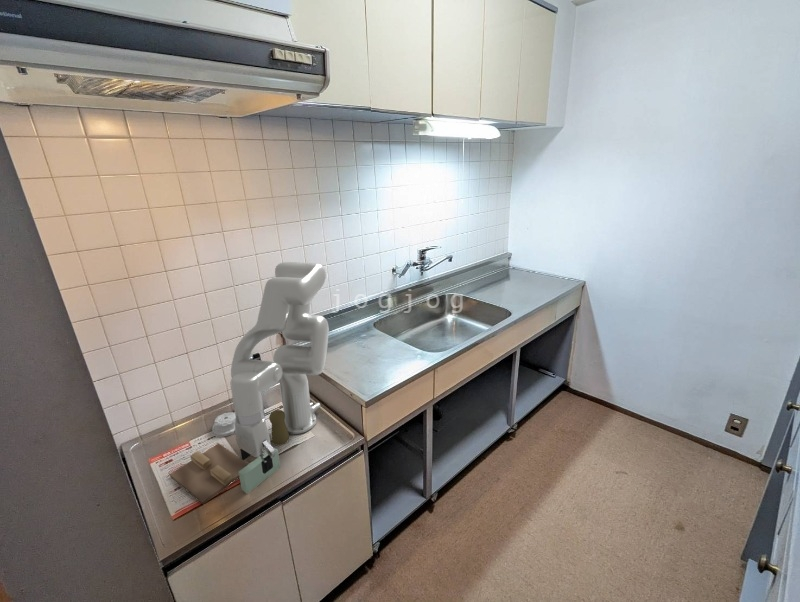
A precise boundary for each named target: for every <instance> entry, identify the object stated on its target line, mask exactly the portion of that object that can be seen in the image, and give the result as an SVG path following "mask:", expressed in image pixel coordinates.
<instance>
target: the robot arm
mask: <svg viewBox="0 0 800 602" xmlns="http://www.w3.org/2000/svg"><path fill="white" fill-rule="evenodd" d="M326 273H327V272H326V269H325V268H324V266H323V265H322V264H320V263H315V262H301V261H298V262H297V261H287V262H286V261H285V262H280V263H278V264H277V265H276V266H275V269H274V275H275V277H272V278H270V279H268V280H267V281H266V282H265V286H264V290H263V293H262V294H263V295H262V298H261V303H260V307H259V311H258V316H257V321H256V323H255V325H254V326H253V327H252V328H250V329H249V330H248V331H247V332H246V333H245V334H244V336H243V337H242V338H241V340H240V341H239V342H238V344H236V348H235V350H234V354H233V358H232V361H231V367H230V376H231V379H230V391H231V395H232V396H231V397H232V402H233V410H234V412H235V416H236V419H235V431H234V435H235V440H236V446H237V447H238V448H239V451H240V458H242V460H245V461H246V460H247V459H248V458H249V457H251V456H253V457H255V458H258V457H259V456H260V457H261V459H262V462H261V464H262V471H263V473H264V474H265V473H266V472H268V471H269V470H270V469H272V468H273V462H272V458H273V457H274V454H275V450H274V449H273V447H274V446H272V444H271V437H270V434H269V429H268V425H267V422H266V419H265V407H264V400H263V393H265V392H267V391H268V390H270V389H271V388H273V387H275V386H276V385H277V384H278V383H279V386H280V395H281V400H282V401H281V402H282V408H283V409H282V411H283V412H284V413H285V420H284V421H285V424H286V427H287V430H288V433H289V435H298V434H303V433H306V432H308V431H309V430H311V429H312V428H314V426H315V425H316V423H317V416H316V414H315V411H316V410H318V409H319V408H320V407H321V406H322V405H321V403H319V402H316V403H315V404H314V403H313V402H311V396H310V388H309V380H308V376H318V375H320V374H322V373H323V371H324V370H325V367H326V366H325V365H326V360H327V352H328V351H327V350H328V343H329V336H330V335H329V332H330V330H329V327H330V326H329V322H328V320H327V318H325V316H322V315H319V314H318V315H317V314H310V310H311V309H310V308H311V301H312V300H313V299H314V298H315V296H316V295H317V294H318V292H319V291H320V290H321V289H322V287H324V284H325V281H326V278H327V277H326V276H327V274H326ZM280 333H282V337H283V338H284V339H285V340H288V341H293V342H303V343H310V345H308V346H307V345H301V344H300V345H299V344H284V345H280V346H279V347H277V348H276V350H275V351H274V353H273V361H272V360H271V361H269V360H259V359H251V354H252V352H253V351H254V349H255V347H256V346H257V345H258V344H260V342H262V341H264V340H265V339H267V338H269V337H271V336H275V335H277V334H280ZM307 375H308V376H307ZM265 452H267V454H268V456H267V457H264V455H263V453H265Z"/></svg>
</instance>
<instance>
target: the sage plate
mask: <svg viewBox="0 0 800 602" xmlns="http://www.w3.org/2000/svg"><path fill="white" fill-rule="evenodd" d="M272 447H273V449H274V450H275V454H274V457H273V458H272V462H273V468H272V469H270V470H269V471H268V472H266V473H265V474H264V473H263V471H262V464H261V462H262V459H261V457H260V456H259V457H256V458H255V459H254V460H253V461H251V462H250V463H249V464H248V465H247V466H246V467H244V468H243V469H242V470H240V471H239V480H240V481H239V482H240V486H241V487H240V488H241V491H243V492H244V493H245V494H249V493H251V492H252V491H253V490H255V488H257V487H258V486H259V485H261V484H262V483H263V482H264V481H266V480H267V479H268V478H269V477H270V476H272V475H273V474H274V473H276V472H277V470H279V469H280V468H281V462H280V455H279V449H277V448H276V447H274V446H272ZM263 455H264V457H267V456H268V454H267V452H266V451H265V452H264V453H263Z"/></svg>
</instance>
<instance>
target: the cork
mask: <svg viewBox="0 0 800 602" xmlns="http://www.w3.org/2000/svg"><path fill="white" fill-rule="evenodd" d="M268 419H269V422H270V424H271V443H272V444H273V445H274V446H282V445H284V444H286V443H287V442H289V440H290V438H291V437H290V434H289V433H288V430H287V427H286V424H285V421H284V420H285V413H284V410H283V409H282V410H281V409H276V410H273V411H272V412H270V414H269V416H268Z"/></svg>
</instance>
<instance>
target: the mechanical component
mask: <svg viewBox="0 0 800 602" xmlns="http://www.w3.org/2000/svg"><path fill="white" fill-rule="evenodd" d="M235 419H236V416H235V411H234V412H233V411H228V412H223V413H221V414H219V415H218V416H216V418H215V419H214V424H213V425H212V427H211V430H212V433H213V435H214V436H216V437H228V436H231V435H235V433H234V431H235Z"/></svg>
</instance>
